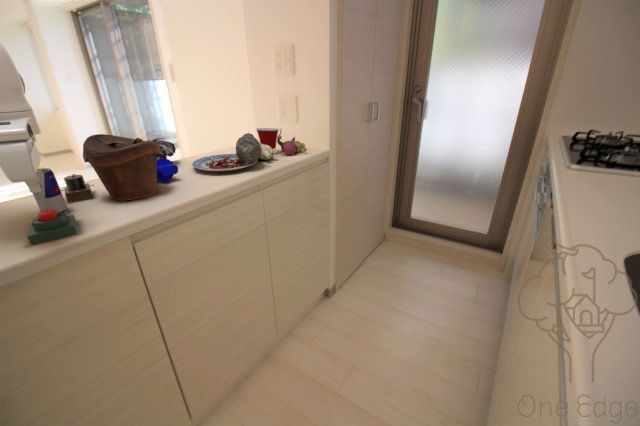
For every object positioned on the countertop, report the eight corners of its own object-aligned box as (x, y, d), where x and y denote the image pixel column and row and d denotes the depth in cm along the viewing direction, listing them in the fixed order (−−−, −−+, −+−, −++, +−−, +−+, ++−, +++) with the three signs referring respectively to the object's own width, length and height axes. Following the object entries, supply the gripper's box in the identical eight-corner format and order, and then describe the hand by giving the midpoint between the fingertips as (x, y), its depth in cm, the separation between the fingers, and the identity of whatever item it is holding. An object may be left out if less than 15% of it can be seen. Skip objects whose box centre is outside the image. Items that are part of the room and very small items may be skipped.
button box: (31, 245, 63) (23, 228, 61) (34, 231, 69) (27, 216, 67) (77, 233, 68) (71, 218, 66) (76, 222, 73) (70, 207, 72)
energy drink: (73, 212, 79) (56, 169, 74) (49, 220, 74) (30, 175, 69) (62, 208, 81) (45, 167, 76) (38, 216, 76) (19, 172, 71)
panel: (62, 205, 83) (58, 194, 82) (62, 196, 89) (59, 186, 88) (98, 198, 88) (95, 188, 87) (96, 190, 94) (93, 181, 93)
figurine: (310, 125, 140) (294, 127, 127) (311, 153, 144) (295, 157, 132) (291, 125, 144) (274, 126, 132) (292, 151, 149) (275, 155, 136)
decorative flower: (126, 157, 112) (143, 140, 124) (148, 180, 119) (162, 162, 131) (156, 143, 109) (170, 127, 121) (177, 167, 116) (188, 150, 128)
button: (40, 223, 65) (36, 216, 64) (40, 218, 67) (37, 211, 66) (58, 219, 66) (55, 212, 66) (58, 214, 69) (55, 208, 68)
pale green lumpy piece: (283, 160, 131) (261, 157, 139) (284, 144, 129) (261, 142, 138) (261, 161, 120) (238, 158, 129) (261, 144, 119) (238, 142, 127)
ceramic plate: (270, 162, 125) (269, 155, 124) (227, 179, 104) (226, 171, 103) (225, 156, 136) (224, 149, 134) (178, 170, 115) (177, 162, 114)
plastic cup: (284, 151, 143) (283, 127, 138) (272, 156, 134) (271, 130, 129) (266, 150, 147) (264, 125, 142) (253, 154, 138) (251, 128, 133)
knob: (85, 188, 87) (81, 176, 85) (67, 191, 85) (62, 179, 83) (86, 184, 90) (82, 172, 89) (68, 187, 88) (64, 175, 86)
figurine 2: (296, 148, 148) (295, 136, 145) (290, 153, 142) (288, 141, 139) (282, 148, 151) (281, 136, 148) (276, 153, 144) (274, 140, 141)
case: (171, 197, 88) (158, 137, 80) (92, 209, 80) (68, 144, 72) (170, 180, 102) (158, 128, 95) (102, 189, 94) (84, 133, 87)
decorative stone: (237, 124, 123) (261, 125, 125) (238, 146, 129) (261, 146, 131) (233, 143, 106) (261, 143, 108) (235, 167, 111) (262, 167, 113)
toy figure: (153, 157, 94) (127, 153, 101) (159, 185, 97) (134, 180, 104) (178, 153, 101) (152, 150, 108) (183, 179, 105) (158, 175, 112)
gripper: (-5, 121, 64) (22, 181, 69) (-25, 134, 49) (11, 208, 55) (34, 119, 67) (56, 176, 73) (25, 131, 53) (54, 201, 59)
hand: (37, 190), depth 64 cm, fingers closed
